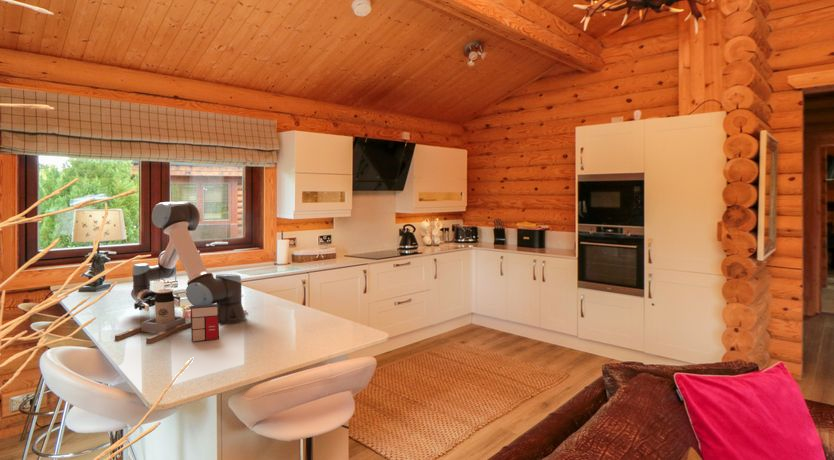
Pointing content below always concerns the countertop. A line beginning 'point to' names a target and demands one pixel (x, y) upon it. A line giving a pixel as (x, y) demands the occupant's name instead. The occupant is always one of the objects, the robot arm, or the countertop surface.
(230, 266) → the countertop surface
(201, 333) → the cream and red box
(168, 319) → the travel mug
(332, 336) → the countertop surface
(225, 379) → the countertop surface
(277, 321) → the countertop surface
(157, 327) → the square tray
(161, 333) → the switch track
